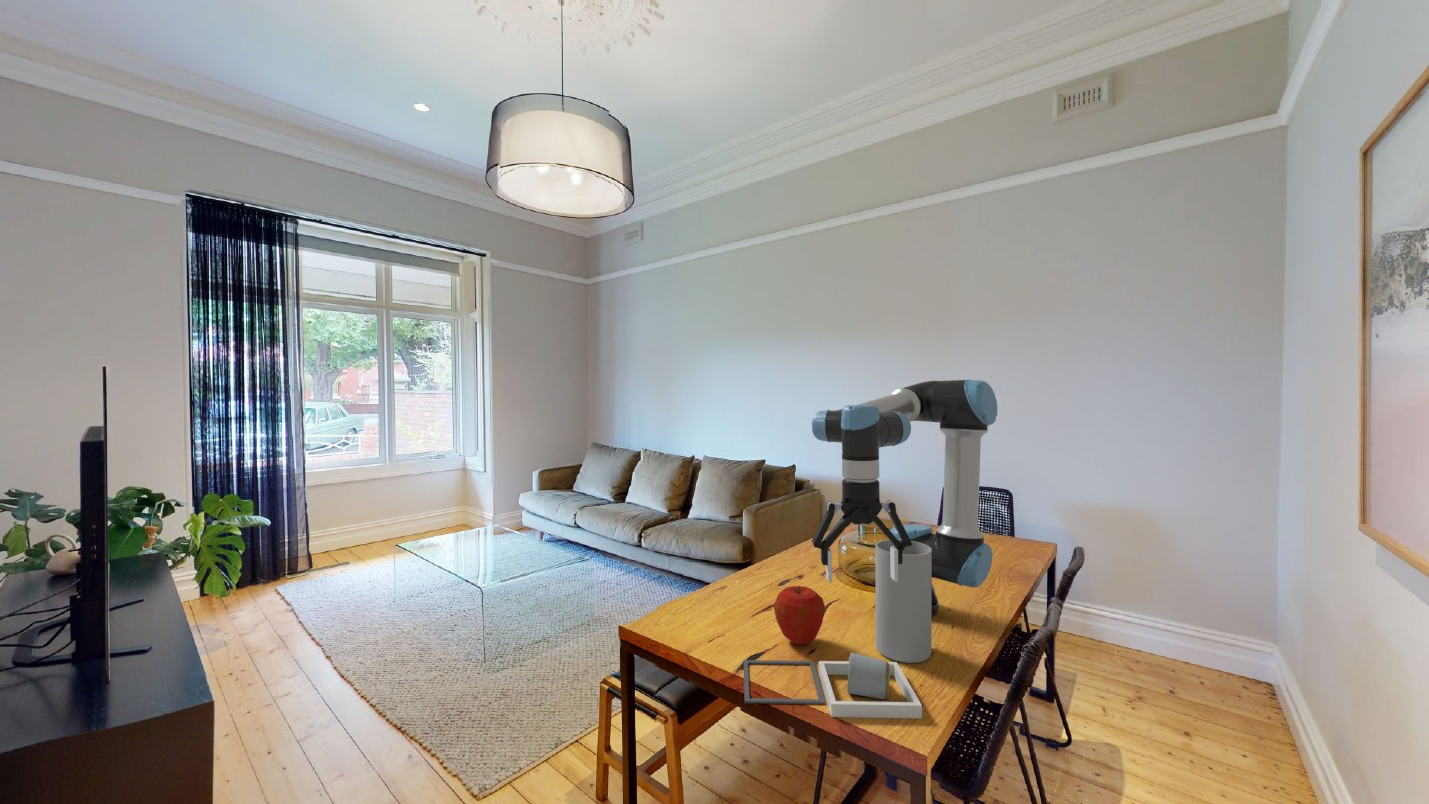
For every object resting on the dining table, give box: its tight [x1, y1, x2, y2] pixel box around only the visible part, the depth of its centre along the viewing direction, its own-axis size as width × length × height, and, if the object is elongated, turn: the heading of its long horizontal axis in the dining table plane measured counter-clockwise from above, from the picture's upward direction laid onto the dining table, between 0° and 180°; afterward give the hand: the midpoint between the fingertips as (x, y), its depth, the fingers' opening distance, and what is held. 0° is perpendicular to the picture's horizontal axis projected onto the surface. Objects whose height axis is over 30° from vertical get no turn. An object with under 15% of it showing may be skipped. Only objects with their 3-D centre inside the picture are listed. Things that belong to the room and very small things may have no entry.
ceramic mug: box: [846, 652, 891, 700], centre depth 110 cm, size 11×8×8 cm
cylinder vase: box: [875, 539, 933, 664], centre depth 126 cm, size 12×12×25 cm
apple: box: [773, 585, 826, 646], centre depth 131 cm, size 12×12×14 cm
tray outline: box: [743, 659, 826, 705], centre depth 113 cm, size 16×16×1 cm
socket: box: [818, 656, 923, 720], centre depth 109 cm, size 17×18×2 cm
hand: (861, 579), depth 111 cm, fingers open, 13 cm apart
